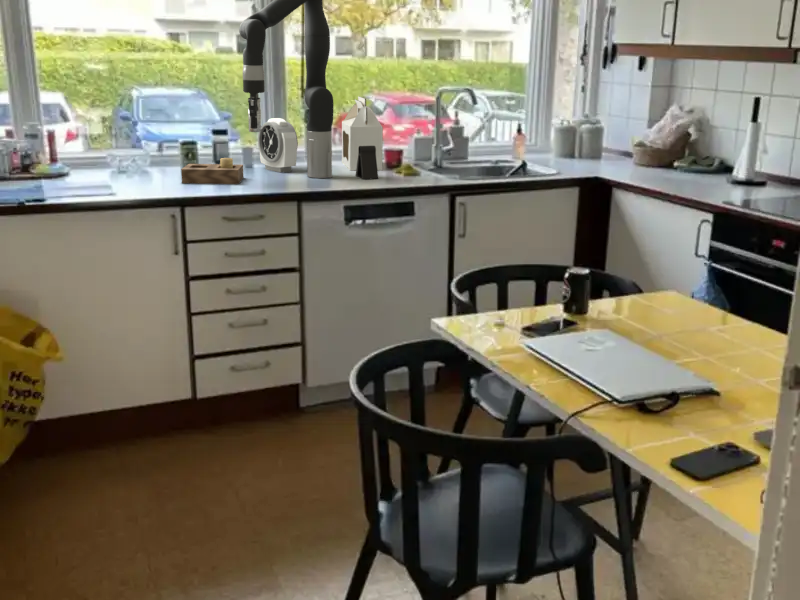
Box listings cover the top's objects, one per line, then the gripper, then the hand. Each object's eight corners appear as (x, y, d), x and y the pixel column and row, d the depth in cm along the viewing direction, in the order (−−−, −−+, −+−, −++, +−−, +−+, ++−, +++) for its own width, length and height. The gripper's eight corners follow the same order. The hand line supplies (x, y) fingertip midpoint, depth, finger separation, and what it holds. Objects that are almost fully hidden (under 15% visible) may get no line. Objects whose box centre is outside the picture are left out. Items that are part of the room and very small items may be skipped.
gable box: (341, 163, 363) (341, 95, 355) (372, 163, 366) (373, 95, 358) (349, 171, 342) (350, 99, 334) (382, 170, 345) (383, 99, 337)
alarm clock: (256, 168, 343) (255, 117, 338) (274, 166, 349) (273, 116, 343) (282, 173, 331) (281, 120, 325) (300, 172, 336) (299, 119, 330)
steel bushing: (261, 130, 310) (261, 108, 308) (260, 132, 306) (259, 109, 303) (249, 130, 310) (248, 107, 307) (248, 132, 305) (247, 108, 303)
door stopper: (355, 176, 329) (355, 144, 326) (370, 175, 331) (370, 144, 328) (363, 179, 321) (363, 147, 318) (378, 179, 323) (378, 147, 320)
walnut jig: (243, 177, 319) (242, 156, 317) (238, 184, 306) (237, 161, 304) (189, 177, 318) (188, 155, 316) (181, 183, 305) (180, 160, 303)
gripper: (262, 79, 296) (263, 130, 301) (266, 78, 309) (267, 126, 314) (240, 79, 295) (241, 129, 300) (245, 77, 309) (247, 125, 314)
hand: (255, 127), depth 307 cm, fingers closed on steel bushing, 4 cm apart
